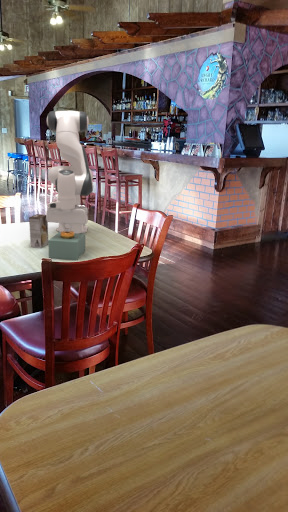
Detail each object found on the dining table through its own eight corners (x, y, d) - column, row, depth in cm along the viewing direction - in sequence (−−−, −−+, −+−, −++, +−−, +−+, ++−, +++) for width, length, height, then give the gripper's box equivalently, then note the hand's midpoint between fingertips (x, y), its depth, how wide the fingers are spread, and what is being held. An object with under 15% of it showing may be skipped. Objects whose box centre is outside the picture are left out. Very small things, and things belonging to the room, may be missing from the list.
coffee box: (37, 242, 228) (36, 213, 224) (48, 243, 227) (47, 214, 222) (30, 247, 220) (28, 217, 215) (41, 248, 219) (40, 218, 214)
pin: (63, 250, 213) (62, 230, 210) (75, 251, 213) (75, 231, 210) (59, 253, 207) (58, 233, 204) (72, 254, 207) (72, 234, 203)
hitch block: (59, 248, 219) (58, 232, 216) (85, 250, 217) (85, 234, 214) (49, 258, 203) (48, 240, 201) (77, 260, 202) (76, 242, 199)
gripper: (89, 204, 205) (89, 231, 209) (48, 201, 207) (49, 229, 211) (86, 206, 199) (86, 234, 203) (44, 204, 201) (45, 232, 205)
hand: (67, 231), depth 207 cm, fingers closed
